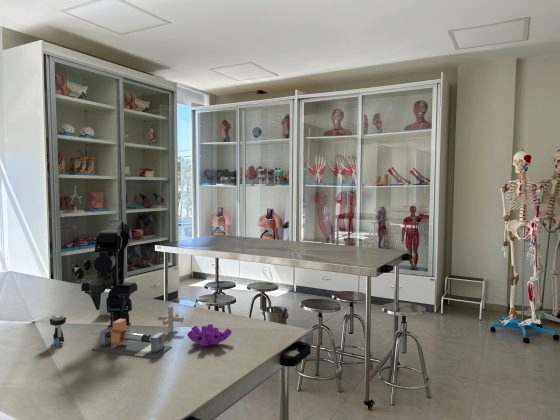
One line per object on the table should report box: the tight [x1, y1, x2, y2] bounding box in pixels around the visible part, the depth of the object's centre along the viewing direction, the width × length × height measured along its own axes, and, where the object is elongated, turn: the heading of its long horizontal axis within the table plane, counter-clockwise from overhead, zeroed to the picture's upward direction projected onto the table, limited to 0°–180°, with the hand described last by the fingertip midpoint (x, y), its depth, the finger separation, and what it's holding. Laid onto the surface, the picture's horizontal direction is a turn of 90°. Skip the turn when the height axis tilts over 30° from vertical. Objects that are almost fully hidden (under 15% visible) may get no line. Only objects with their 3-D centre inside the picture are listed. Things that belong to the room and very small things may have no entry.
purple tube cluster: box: [186, 323, 232, 347], centre depth 151 cm, size 11×15×10 cm
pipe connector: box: [157, 305, 185, 333], centre depth 163 cm, size 10×10×10 cm
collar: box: [111, 319, 129, 346], centre depth 148 cm, size 3×5×8 cm, turn 165°
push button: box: [48, 314, 67, 347], centre depth 150 cm, size 7×5×10 cm
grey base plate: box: [91, 340, 173, 360], centre depth 147 cm, size 25×10×1 cm, turn 75°
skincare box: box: [99, 289, 111, 316], centre depth 188 cm, size 10×6×10 cm, turn 179°
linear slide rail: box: [99, 326, 165, 354], centre depth 146 cm, size 22×5×5 cm, turn 75°
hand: (109, 310), depth 149 cm, fingers open, 9 cm apart
